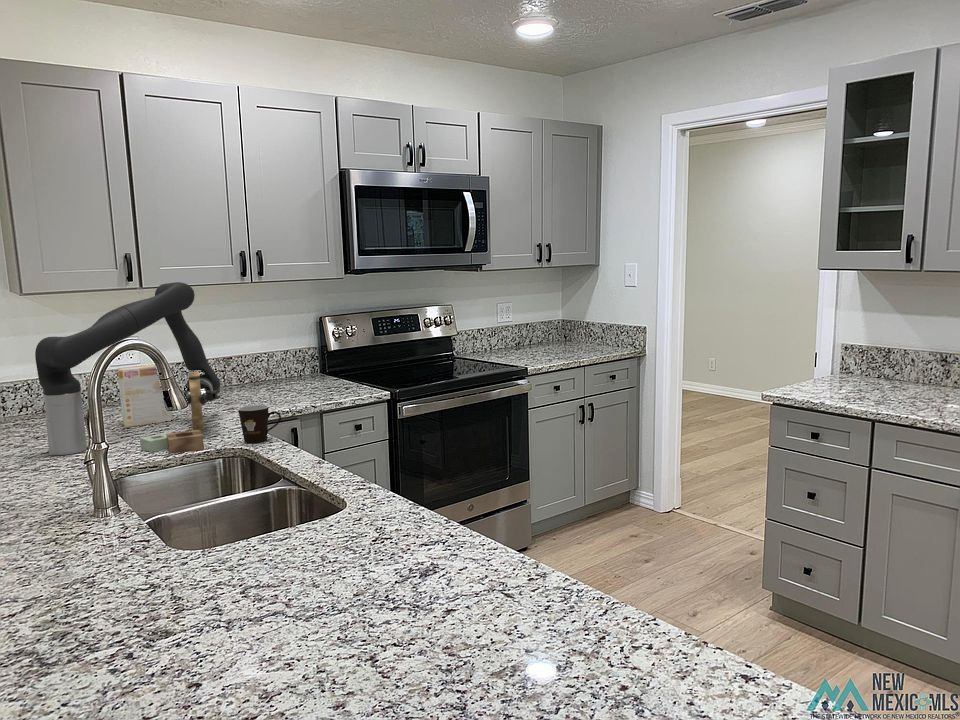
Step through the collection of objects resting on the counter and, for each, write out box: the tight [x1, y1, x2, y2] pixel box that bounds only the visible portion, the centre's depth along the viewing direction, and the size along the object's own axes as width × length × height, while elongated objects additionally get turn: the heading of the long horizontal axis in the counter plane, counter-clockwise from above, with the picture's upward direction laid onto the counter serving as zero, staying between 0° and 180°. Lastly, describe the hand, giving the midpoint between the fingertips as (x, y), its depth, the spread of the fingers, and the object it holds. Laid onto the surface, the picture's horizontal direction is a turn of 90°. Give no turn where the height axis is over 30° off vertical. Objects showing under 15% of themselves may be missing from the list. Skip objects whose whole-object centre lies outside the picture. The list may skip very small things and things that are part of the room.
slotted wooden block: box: [165, 429, 205, 455], centre depth 205 cm, size 9×9×4 cm
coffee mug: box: [237, 404, 282, 445], centre depth 210 cm, size 12×9×10 cm
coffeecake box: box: [117, 364, 174, 428], centre depth 243 cm, size 15×7×20 cm, turn 123°
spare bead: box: [139, 432, 168, 453], centre depth 207 cm, size 7×7×3 cm
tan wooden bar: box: [188, 371, 204, 433], centre depth 216 cm, size 3×3×18 cm
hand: (195, 400), depth 213 cm, fingers closed on tan wooden bar, 3 cm apart
